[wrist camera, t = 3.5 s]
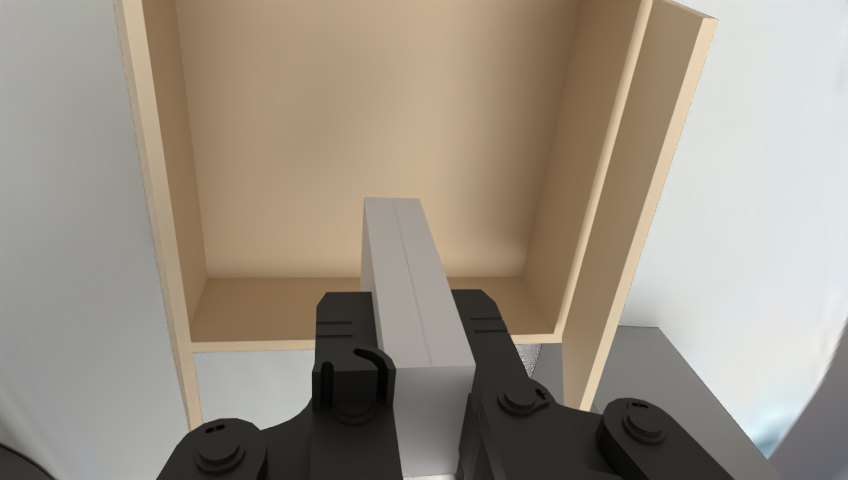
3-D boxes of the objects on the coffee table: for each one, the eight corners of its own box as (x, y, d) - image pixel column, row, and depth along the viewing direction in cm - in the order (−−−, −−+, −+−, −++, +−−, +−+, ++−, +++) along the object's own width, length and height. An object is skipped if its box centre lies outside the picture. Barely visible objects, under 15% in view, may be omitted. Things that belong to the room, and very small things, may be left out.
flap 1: (180, 346, 20) (171, 348, 20) (116, -54, 14) (103, -55, 14) (210, 474, 16) (199, 478, 15) (136, -32, 9) (116, -34, 9)
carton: (199, 281, 25) (173, 353, 21) (151, -95, 18) (96, -102, 14) (526, 279, 28) (562, 342, 24) (597, -47, 21) (667, -41, 17)
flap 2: (565, 452, 17) (575, 454, 17) (702, 17, 11) (718, 19, 11) (561, 337, 23) (568, 338, 23) (654, -4, 16) (664, -3, 16)
